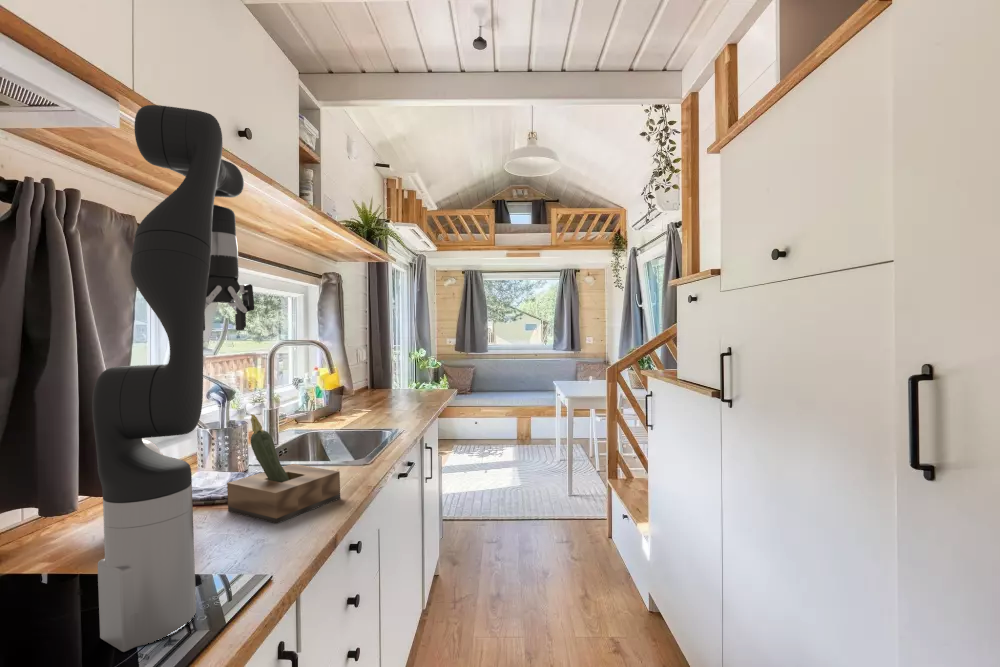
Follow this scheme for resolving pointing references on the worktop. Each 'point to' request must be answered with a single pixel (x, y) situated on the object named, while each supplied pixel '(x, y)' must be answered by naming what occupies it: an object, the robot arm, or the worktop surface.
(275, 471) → the vegetable
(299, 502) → the socket block
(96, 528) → the worktop surface
